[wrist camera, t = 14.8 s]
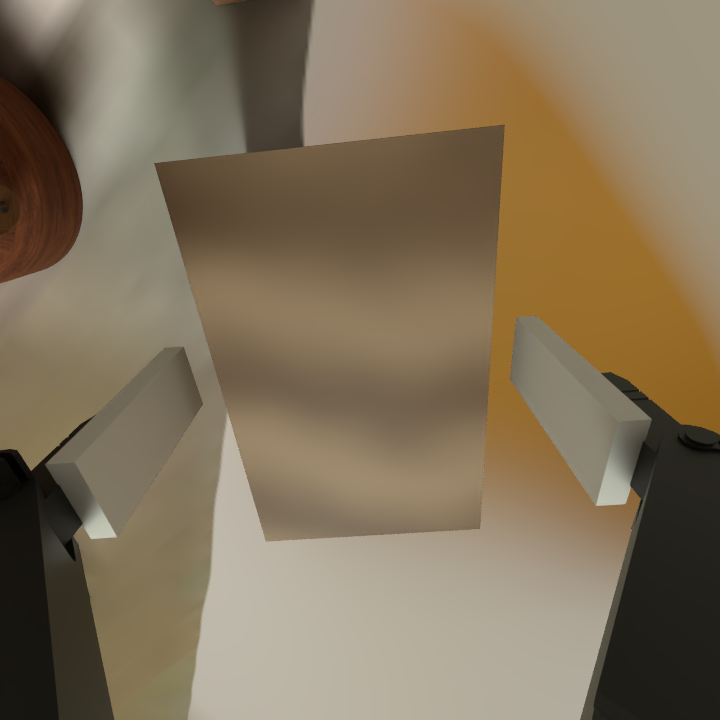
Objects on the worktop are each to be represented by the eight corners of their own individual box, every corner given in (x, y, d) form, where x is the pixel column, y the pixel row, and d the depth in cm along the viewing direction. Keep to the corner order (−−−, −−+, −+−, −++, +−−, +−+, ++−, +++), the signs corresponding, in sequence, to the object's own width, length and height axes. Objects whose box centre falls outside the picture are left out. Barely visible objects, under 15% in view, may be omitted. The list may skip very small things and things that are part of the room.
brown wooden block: (247, 165, 20) (154, 163, 11) (440, 144, 20) (504, 124, 11) (298, 418, 27) (266, 541, 18) (441, 407, 27) (480, 528, 18)
